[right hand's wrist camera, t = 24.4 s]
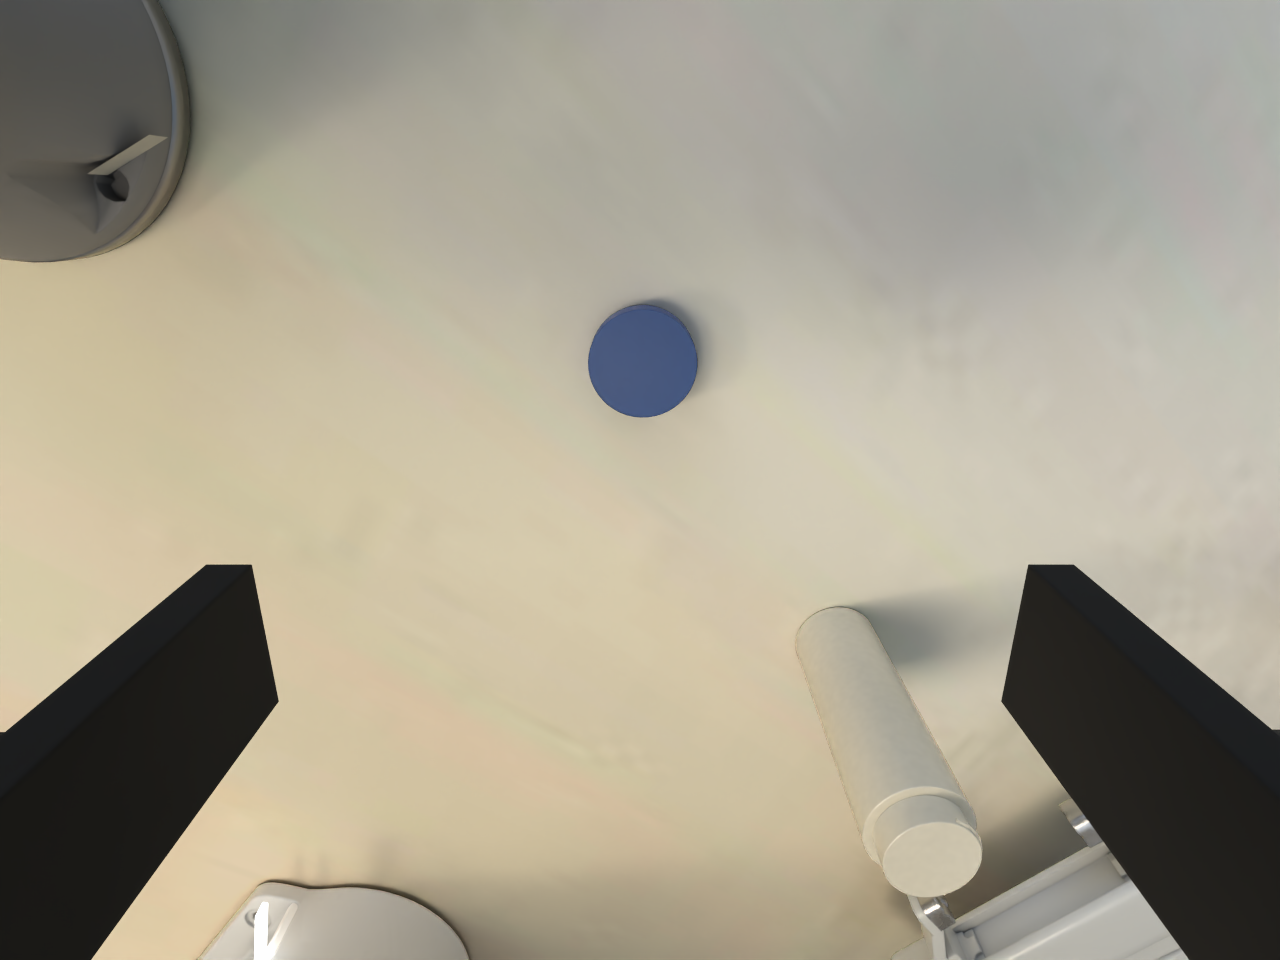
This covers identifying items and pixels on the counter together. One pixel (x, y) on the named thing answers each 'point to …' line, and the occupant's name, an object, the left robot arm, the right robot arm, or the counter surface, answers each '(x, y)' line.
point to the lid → (642, 361)
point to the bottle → (887, 758)
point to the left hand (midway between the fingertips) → (996, 852)
